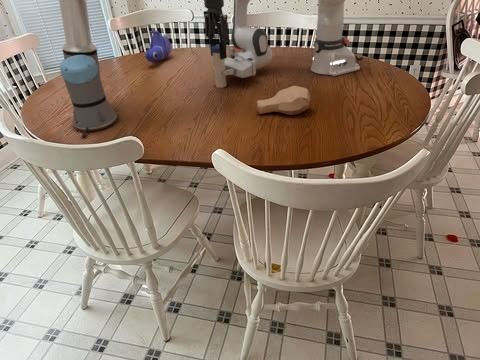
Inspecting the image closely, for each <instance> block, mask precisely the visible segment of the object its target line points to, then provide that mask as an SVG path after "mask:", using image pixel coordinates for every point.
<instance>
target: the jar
mask: <svg viewBox="0 0 480 360" xmlns="http://www.w3.org/2000/svg"><path fill="white" fill-rule="evenodd" d="M212 61H213V62H212V63H213V68H214V82H215V87H216V88H218V89H222V88H225V87H227V85H228V83H227V75H225V76H224V75H222V71H224V70H225V59H222V60H221V59H220V53H213V56H212Z"/></svg>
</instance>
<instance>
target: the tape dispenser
mask: <svg viewBox="0 0 480 360" xmlns="http://www.w3.org/2000/svg"><path fill="white" fill-rule="evenodd" d="M244 52H246V49H237V48H235V47H234V45H233V44H232V45H231V44H230V45H228V53H229V55H231V57H235V56H236V55H238V54H241V53H244Z"/></svg>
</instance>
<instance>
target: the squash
mask: <svg viewBox="0 0 480 360" xmlns="http://www.w3.org/2000/svg"><path fill="white" fill-rule="evenodd" d="M311 98H312V97H311V95H310V90H309V89H307V88H306V87H302V86H298V85H292V86H289V87H287V88H283V89H280V90H279V91H277V92H276V94H275V95H274V96H272V97H271V98H265V99H257V100H256V102H255V103H256V107H257V109H256V110H257V113H258V114H259V115H263V114H266V113H273V112H275V113H282V114H284V115H287V116H295V115H300V114H301V113H303V112H305V111H306V110H308V109H309V107H310V102H311Z"/></svg>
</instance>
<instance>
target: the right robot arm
mask: <svg viewBox="0 0 480 360" xmlns="http://www.w3.org/2000/svg"><path fill="white" fill-rule="evenodd" d="M250 2H251V0H233V20H232V23H233V24H232V30H231V36H230V37H231V38H230V39H231V43H232V46H233V45H234V47H235V48H237V49H246V52H244V53H241V54H238V55H236V56H234V58H231V57H227V58H225V70H224V71H222V75H224V76H225V75H226V76H235V77H238V78H241V79H246V78H248V77H253V76H256V74H257V71H258V70H259V69H262V68H264V67H266V66H268V65H269V64H270V63H271V62H272V60H273V56H274V55H273V50H272V49H271V47H270V46H269V41H268V39H269V38H268V35H267V32H266V30H264V29H263V28H260V27H252V26H251V27H250V26H248V23H247V19H248V6H249V3H250ZM345 2H346V0H318V1H317V21H316V22H317V23H316V35H315V36H316V37H315V39H314V54H313V57H312V63H311V66H310V71H311V72H312V73H315V74H319V75H327V76H331V77H336V76H340V75H344V74H348V73H352V72H356V71H360V70H361V65H359V64H358V63H357V62H356V61H357V60H359V61H360V60H363V58H364V57H363V56H361V57H358V56H357V55H356V54H354V52H352V51H351V49H349V48H348V47H347V46H345V45H349V44H350V42H351V41H350V39H348V38H344V37H343V29H344V22H345ZM212 71H213V72H214V67H213V68H212Z"/></svg>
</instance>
